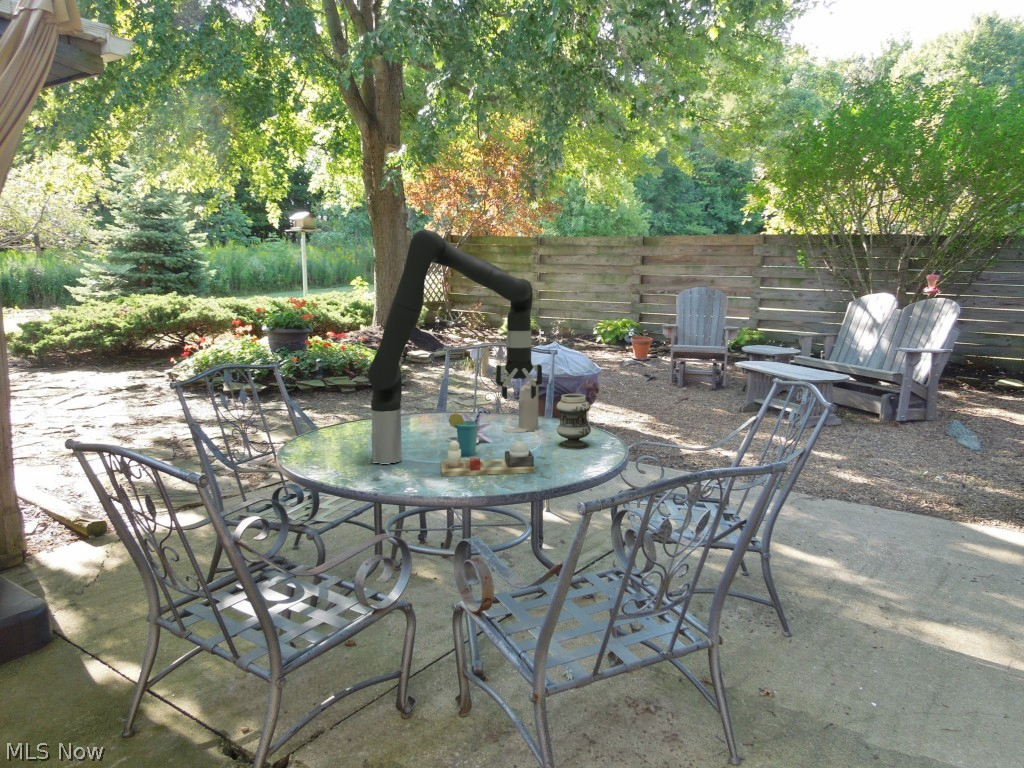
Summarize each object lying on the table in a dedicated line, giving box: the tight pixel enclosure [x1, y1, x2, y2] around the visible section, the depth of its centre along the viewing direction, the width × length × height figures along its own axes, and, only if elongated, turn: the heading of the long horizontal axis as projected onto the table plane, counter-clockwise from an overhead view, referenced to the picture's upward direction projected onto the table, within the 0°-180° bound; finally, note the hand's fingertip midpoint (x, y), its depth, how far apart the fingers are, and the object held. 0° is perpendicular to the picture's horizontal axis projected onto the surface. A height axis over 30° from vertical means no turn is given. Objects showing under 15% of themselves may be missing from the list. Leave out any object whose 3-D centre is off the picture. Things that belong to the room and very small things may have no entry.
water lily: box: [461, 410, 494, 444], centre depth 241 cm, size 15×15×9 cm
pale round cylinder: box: [508, 440, 530, 457], centre depth 206 cm, size 6×6×6 cm
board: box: [440, 449, 536, 477], centre depth 205 cm, size 28×12×5 cm, turn 97°
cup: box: [448, 409, 491, 457], centre depth 222 cm, size 14×8×15 cm, turn 99°
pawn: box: [447, 440, 462, 467], centre depth 203 cm, size 4×4×8 cm
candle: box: [502, 377, 540, 433], centre depth 256 cm, size 7×14×20 cm, turn 107°
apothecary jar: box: [556, 393, 592, 450], centre depth 233 cm, size 12×12×18 cm
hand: (518, 398), depth 203 cm, fingers open, 8 cm apart
